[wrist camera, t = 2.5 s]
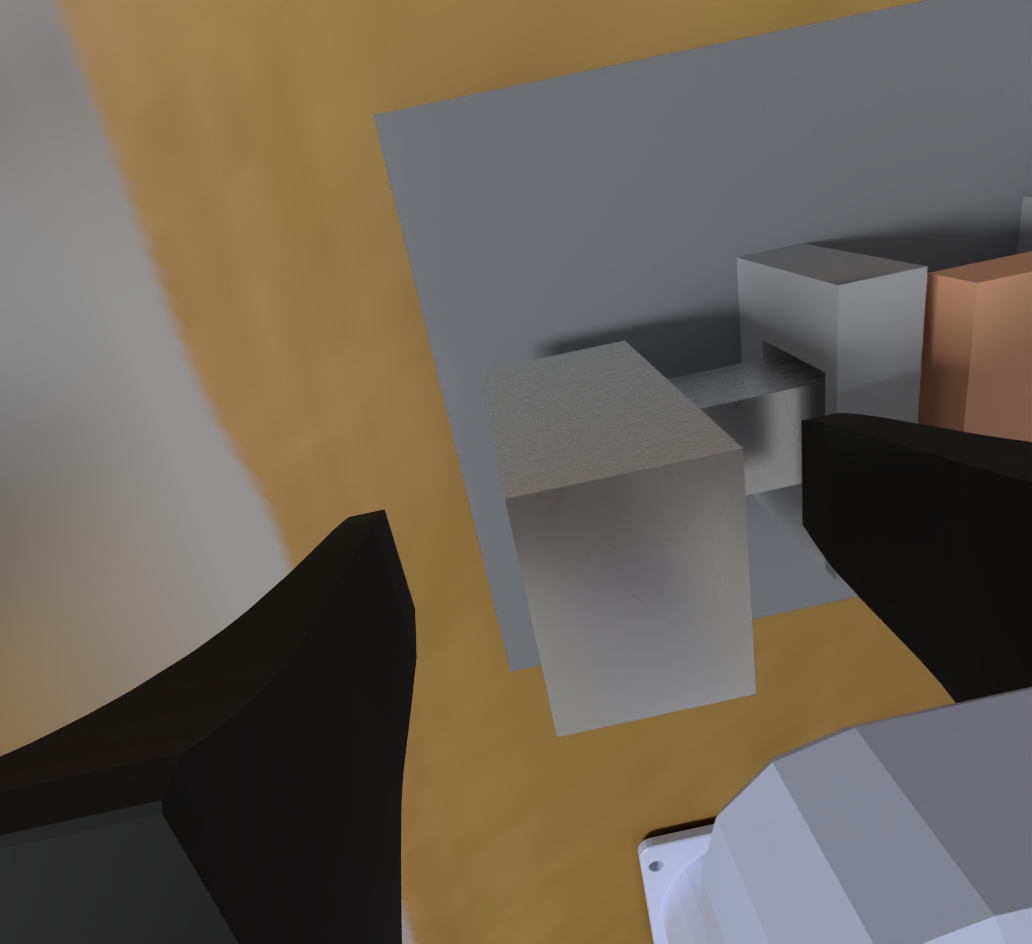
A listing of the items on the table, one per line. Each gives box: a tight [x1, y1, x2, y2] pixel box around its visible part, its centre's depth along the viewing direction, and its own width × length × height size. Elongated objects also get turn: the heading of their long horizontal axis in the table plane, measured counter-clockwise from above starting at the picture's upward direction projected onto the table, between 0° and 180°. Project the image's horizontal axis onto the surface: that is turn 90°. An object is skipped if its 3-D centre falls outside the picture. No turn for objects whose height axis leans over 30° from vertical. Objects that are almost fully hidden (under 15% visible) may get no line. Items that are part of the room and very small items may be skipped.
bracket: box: [374, 0, 1032, 672], centre depth 15 cm, size 14×16×5 cm
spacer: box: [918, 251, 1032, 442], centre depth 13 cm, size 5×4×3 cm
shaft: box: [482, 340, 924, 737], centre depth 12 cm, size 4×13×6 cm, turn 101°
